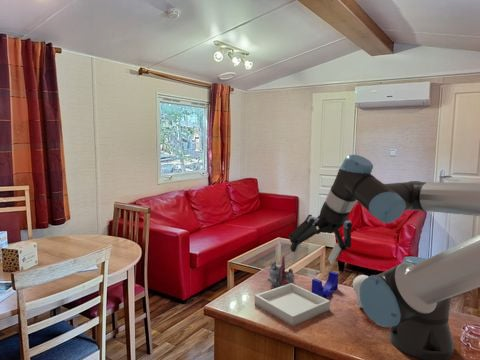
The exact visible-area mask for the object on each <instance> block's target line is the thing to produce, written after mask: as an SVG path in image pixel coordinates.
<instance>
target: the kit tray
mask: <svg viewBox="0 0 480 360" xmlns="http://www.w3.org/2000/svg"><path fill="white" fill-rule="evenodd" d="M254 304H255V305H256V306H257V307H259V308H261V309H262V310H264V311H266V312H268V313H269V314H271V315H272V316H275V317H276V318H277V319H279V320H282V321H283V322H285V323H286V324H288V325H289V326H291V327H294V326H297V325H299V324H301V323H304V322H306V321H308V320H311V319H312V318H315V317H317V316H320V315H321V314H322V315H323V313H326V312H328V311H330V308H331V300H329V299H327V298H323V297H321V296H318V295H316V294H314V293H312V292H311V291H310V290H307V289H306V288H303V287H301V286H299V285H296V284H294V283H290V284H287V285H284V286H281V287H278V288H277V287H274V288H273V289H269V290H266V291H263V292H260V293H257V294H255V295H254Z"/></svg>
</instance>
